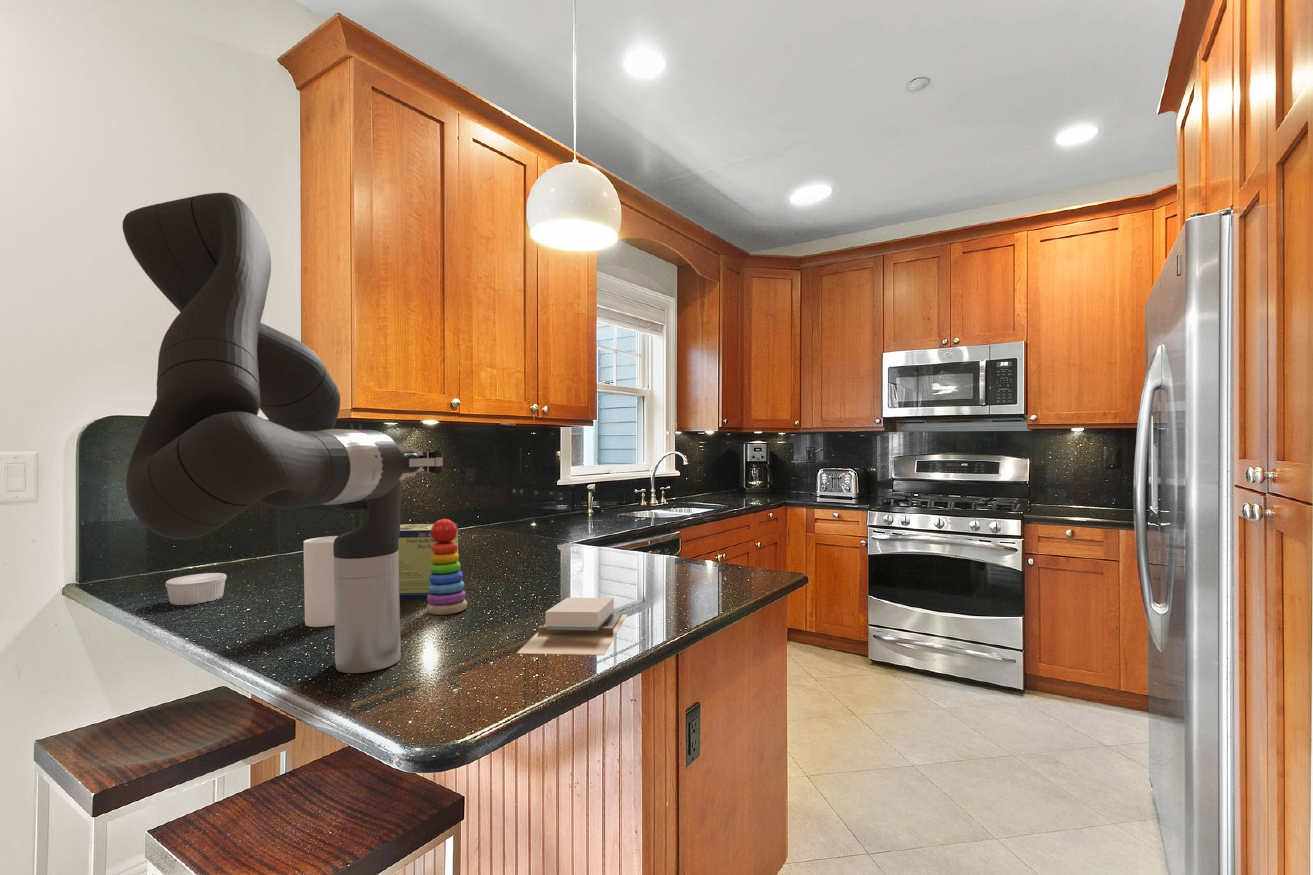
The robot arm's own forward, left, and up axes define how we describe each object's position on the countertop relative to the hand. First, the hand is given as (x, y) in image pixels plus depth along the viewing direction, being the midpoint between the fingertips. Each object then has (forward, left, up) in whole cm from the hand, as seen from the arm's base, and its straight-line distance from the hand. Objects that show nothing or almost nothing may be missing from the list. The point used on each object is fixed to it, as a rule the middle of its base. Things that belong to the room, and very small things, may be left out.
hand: (428, 460), depth 80 cm
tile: (-2, +27, -28) cm, 39 cm away
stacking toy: (-39, +28, -32) cm, 58 cm away
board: (-4, +30, -32) cm, 44 cm away
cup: (-53, +11, -32) cm, 63 cm away
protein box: (-57, +33, -32) cm, 73 cm away
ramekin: (-96, +2, -32) cm, 101 cm away
